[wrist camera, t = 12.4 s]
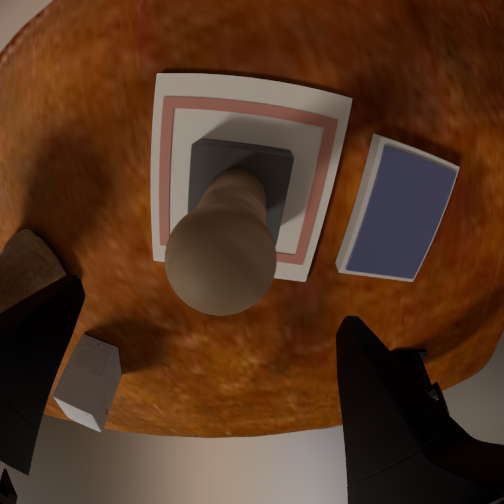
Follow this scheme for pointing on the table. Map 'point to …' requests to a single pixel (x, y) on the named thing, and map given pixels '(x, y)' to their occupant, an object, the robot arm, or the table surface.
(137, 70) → the table surface
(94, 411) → the small box
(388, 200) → the ink pad
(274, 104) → the board
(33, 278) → the stone cup
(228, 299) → the stamp
